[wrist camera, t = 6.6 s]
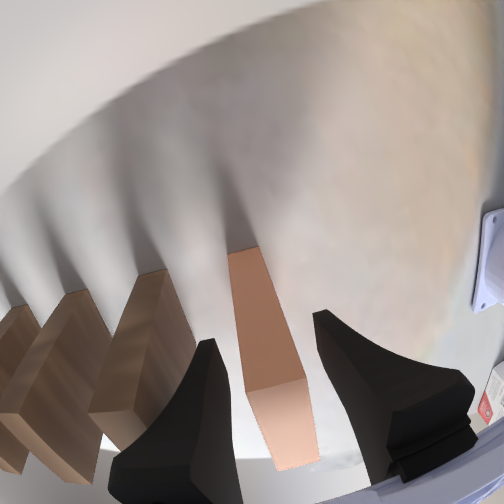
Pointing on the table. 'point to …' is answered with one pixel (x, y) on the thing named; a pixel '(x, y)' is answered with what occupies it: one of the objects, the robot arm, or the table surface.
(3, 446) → the domino
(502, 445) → the robot arm
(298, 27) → the table surface
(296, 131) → the table surface
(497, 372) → the ink cartridge box
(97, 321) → the domino
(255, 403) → the head domino
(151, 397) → the domino
